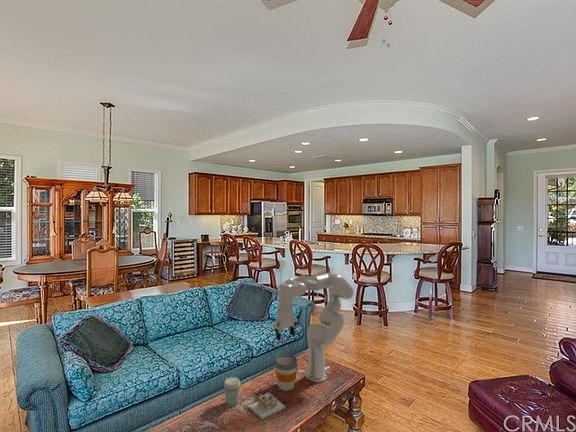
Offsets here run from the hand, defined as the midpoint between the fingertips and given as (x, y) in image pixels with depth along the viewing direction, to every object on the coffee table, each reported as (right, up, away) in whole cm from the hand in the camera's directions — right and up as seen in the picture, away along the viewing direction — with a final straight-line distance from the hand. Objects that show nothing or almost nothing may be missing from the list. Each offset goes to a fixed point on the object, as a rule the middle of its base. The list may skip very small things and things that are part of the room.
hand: (285, 337), depth 176 cm
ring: (-9, -30, -13) cm, 34 cm away
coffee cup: (-27, -31, -10) cm, 42 cm away
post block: (-9, -31, -13) cm, 35 cm away
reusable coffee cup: (0, -30, +7) cm, 31 cm away
